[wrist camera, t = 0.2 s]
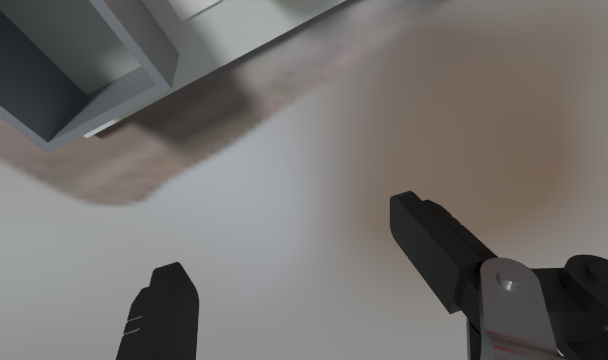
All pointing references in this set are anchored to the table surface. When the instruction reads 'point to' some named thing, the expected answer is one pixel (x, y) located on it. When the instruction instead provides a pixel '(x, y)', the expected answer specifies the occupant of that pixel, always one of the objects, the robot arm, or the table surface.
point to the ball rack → (121, 55)
